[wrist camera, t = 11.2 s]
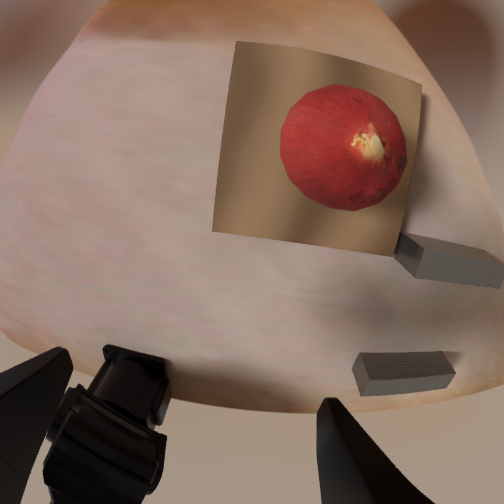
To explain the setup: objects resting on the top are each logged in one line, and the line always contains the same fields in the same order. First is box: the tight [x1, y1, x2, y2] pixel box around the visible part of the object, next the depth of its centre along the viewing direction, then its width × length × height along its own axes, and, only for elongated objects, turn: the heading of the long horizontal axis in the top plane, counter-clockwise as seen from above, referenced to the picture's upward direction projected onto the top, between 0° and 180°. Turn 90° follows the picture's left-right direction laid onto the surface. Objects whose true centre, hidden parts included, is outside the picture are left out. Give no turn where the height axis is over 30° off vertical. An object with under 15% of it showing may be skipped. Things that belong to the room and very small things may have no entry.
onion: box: [280, 84, 407, 211], centre depth 11 cm, size 6×6×8 cm
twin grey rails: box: [352, 232, 504, 396], centre depth 19 cm, size 10×13×4 cm
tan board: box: [212, 41, 422, 257], centre depth 16 cm, size 12×12×2 cm
